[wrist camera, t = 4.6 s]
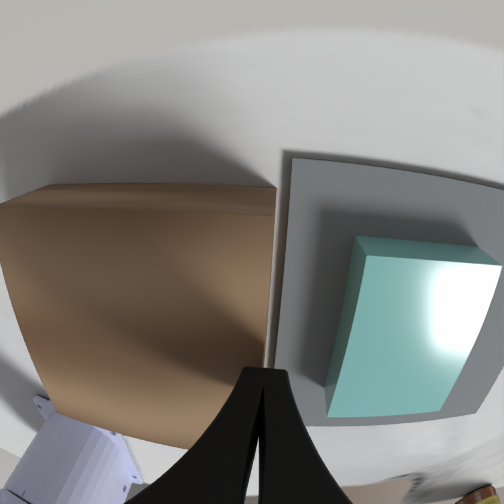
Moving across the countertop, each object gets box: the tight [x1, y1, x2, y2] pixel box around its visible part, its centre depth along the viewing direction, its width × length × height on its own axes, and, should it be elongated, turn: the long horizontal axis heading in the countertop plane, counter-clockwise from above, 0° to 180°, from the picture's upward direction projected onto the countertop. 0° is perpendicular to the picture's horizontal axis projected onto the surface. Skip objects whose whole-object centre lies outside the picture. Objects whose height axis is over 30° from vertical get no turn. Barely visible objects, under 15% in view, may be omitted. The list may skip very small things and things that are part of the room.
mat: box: [274, 157, 504, 426], centre depth 13 cm, size 14×14×1 cm
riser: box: [0, 183, 277, 458], centre depth 13 cm, size 11×10×4 cm
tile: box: [324, 235, 502, 417], centre depth 12 cm, size 8×6×2 cm
